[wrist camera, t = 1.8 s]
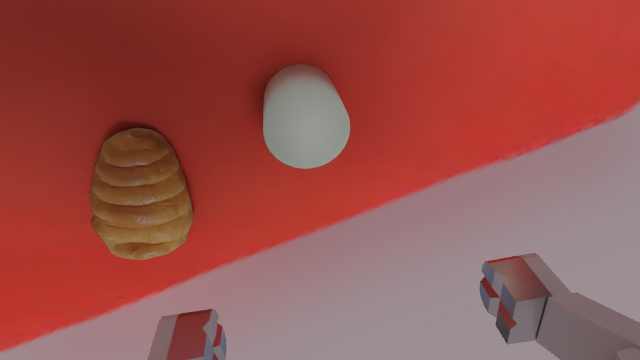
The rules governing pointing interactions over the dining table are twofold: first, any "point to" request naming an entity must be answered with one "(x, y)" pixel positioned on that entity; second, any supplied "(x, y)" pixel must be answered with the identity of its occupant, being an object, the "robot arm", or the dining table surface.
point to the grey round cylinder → (304, 117)
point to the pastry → (140, 196)
